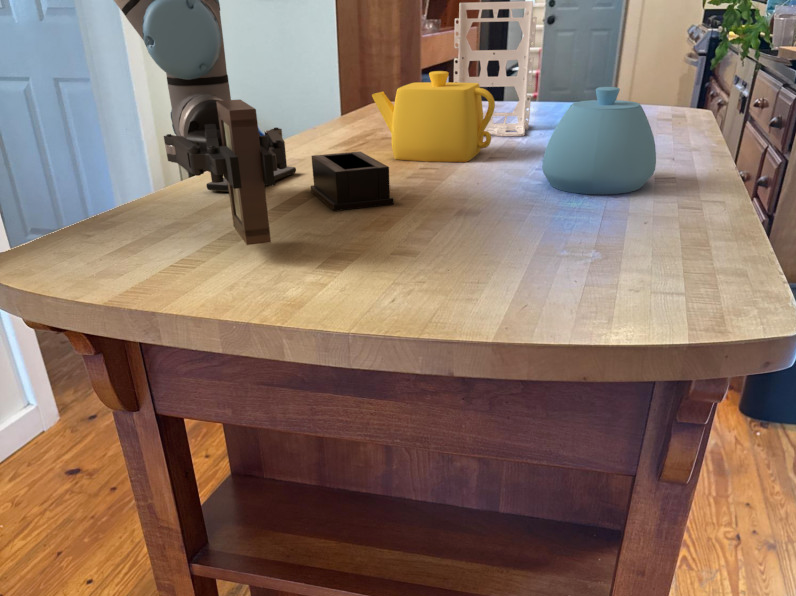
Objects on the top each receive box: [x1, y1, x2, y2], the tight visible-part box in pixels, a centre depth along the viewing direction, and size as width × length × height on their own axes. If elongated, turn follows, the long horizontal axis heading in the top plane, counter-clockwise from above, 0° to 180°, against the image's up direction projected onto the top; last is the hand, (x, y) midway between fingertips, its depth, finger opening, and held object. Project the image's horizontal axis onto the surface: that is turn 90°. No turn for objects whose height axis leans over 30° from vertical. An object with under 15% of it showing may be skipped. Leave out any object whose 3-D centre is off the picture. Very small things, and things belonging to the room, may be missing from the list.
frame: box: [216, 99, 272, 246], centre depth 75 cm, size 8×2×12 cm, turn 20°
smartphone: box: [206, 166, 297, 193], centre depth 108 cm, size 7×1×15 cm
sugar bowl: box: [541, 86, 657, 196], centre depth 99 cm, size 15×15×12 cm
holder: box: [310, 151, 395, 212], centre depth 98 cm, size 12×8×4 cm, turn 20°
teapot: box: [371, 70, 496, 163], centre depth 120 cm, size 20×12×12 cm, turn 73°
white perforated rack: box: [453, 0, 538, 137], centre depth 136 cm, size 14×14×20 cm
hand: (252, 171), depth 71 cm, fingers closed on frame, 2 cm apart
